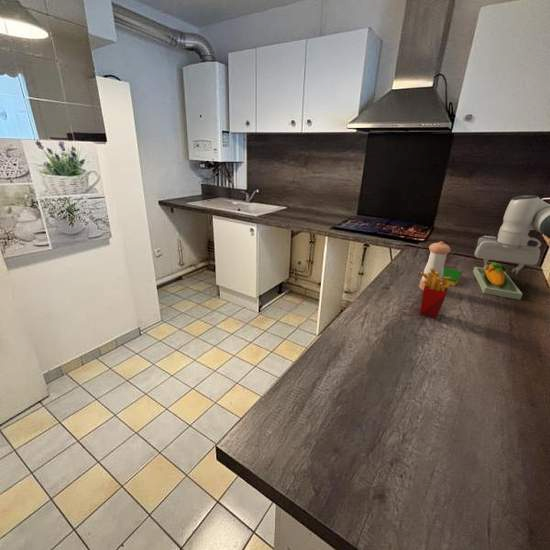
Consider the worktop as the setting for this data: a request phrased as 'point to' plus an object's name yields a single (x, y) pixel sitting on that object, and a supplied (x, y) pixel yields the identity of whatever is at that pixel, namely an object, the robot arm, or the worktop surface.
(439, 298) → the french fries
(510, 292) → the tray
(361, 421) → the worktop surface
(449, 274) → the dish sponge
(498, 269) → the corn
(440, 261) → the pepper shaker
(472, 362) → the worktop surface
